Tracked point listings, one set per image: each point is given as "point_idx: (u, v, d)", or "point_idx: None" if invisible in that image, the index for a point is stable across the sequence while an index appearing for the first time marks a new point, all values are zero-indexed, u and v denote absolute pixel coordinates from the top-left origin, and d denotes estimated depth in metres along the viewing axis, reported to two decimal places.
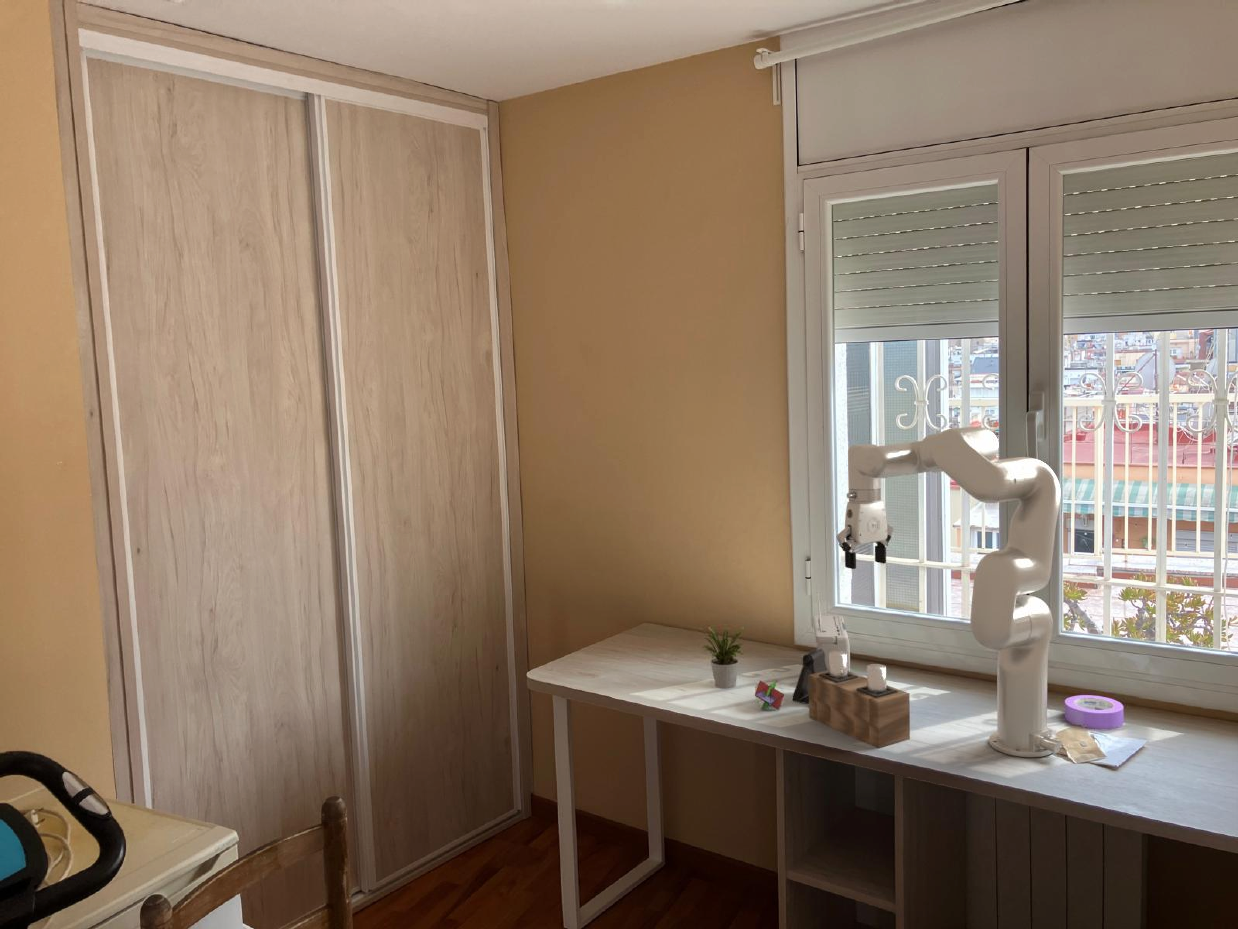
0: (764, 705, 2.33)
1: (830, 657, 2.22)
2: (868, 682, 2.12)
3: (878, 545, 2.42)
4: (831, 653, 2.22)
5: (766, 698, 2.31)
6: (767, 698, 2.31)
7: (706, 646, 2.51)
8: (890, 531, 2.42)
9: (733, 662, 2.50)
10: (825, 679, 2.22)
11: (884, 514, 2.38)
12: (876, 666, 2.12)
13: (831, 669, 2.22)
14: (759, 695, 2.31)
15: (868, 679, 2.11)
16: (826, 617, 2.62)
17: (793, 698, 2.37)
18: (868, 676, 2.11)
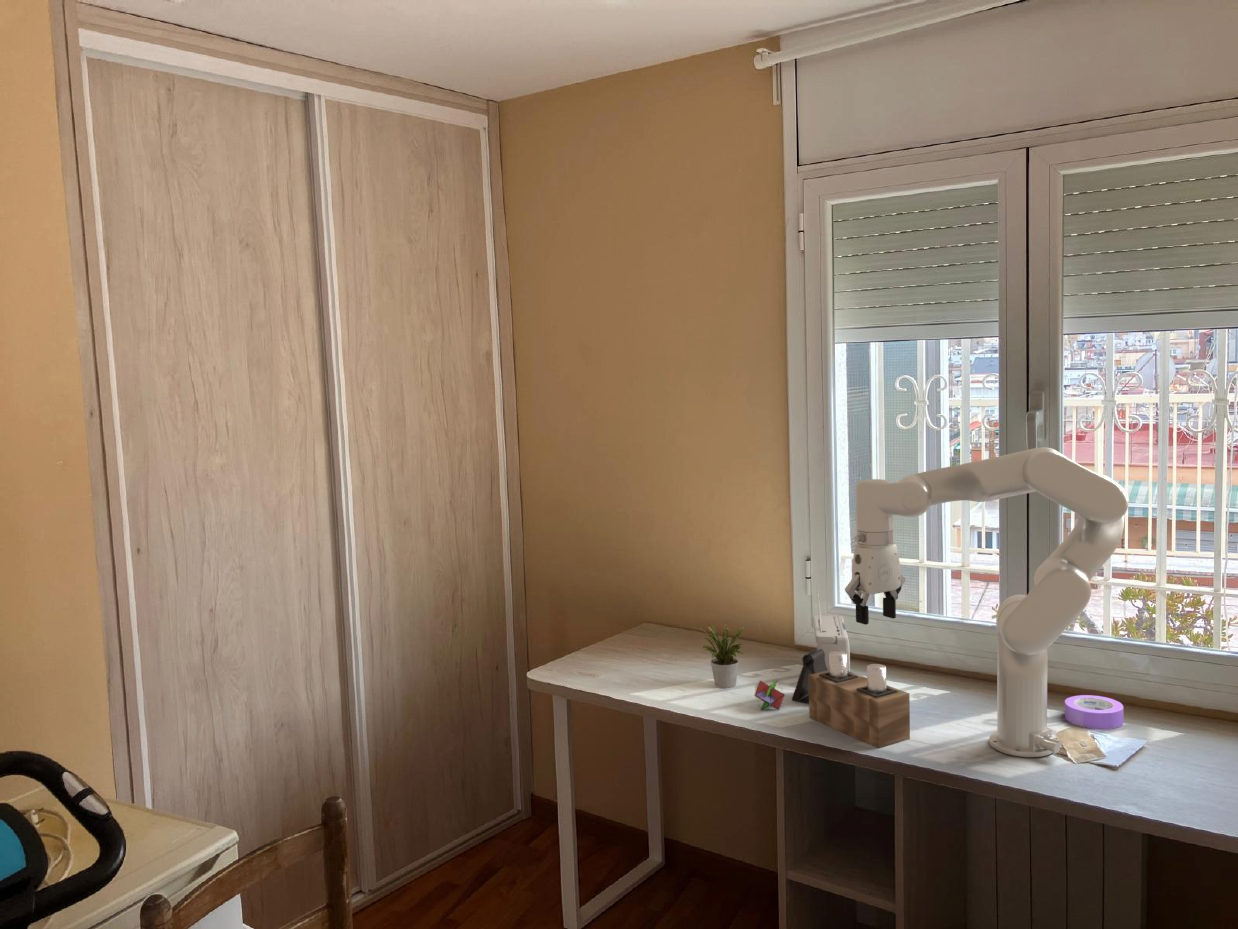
0: (764, 705, 2.33)
1: (830, 657, 2.22)
2: (868, 682, 2.12)
3: (887, 597, 2.12)
4: (831, 653, 2.22)
5: (766, 698, 2.31)
6: (767, 698, 2.31)
7: (706, 646, 2.51)
8: (901, 582, 2.13)
9: (733, 662, 2.50)
10: (825, 679, 2.22)
11: (897, 559, 2.09)
12: (876, 666, 2.12)
13: (831, 669, 2.22)
14: (759, 695, 2.31)
15: (868, 679, 2.11)
16: (826, 617, 2.62)
17: (793, 698, 2.37)
18: (868, 676, 2.11)
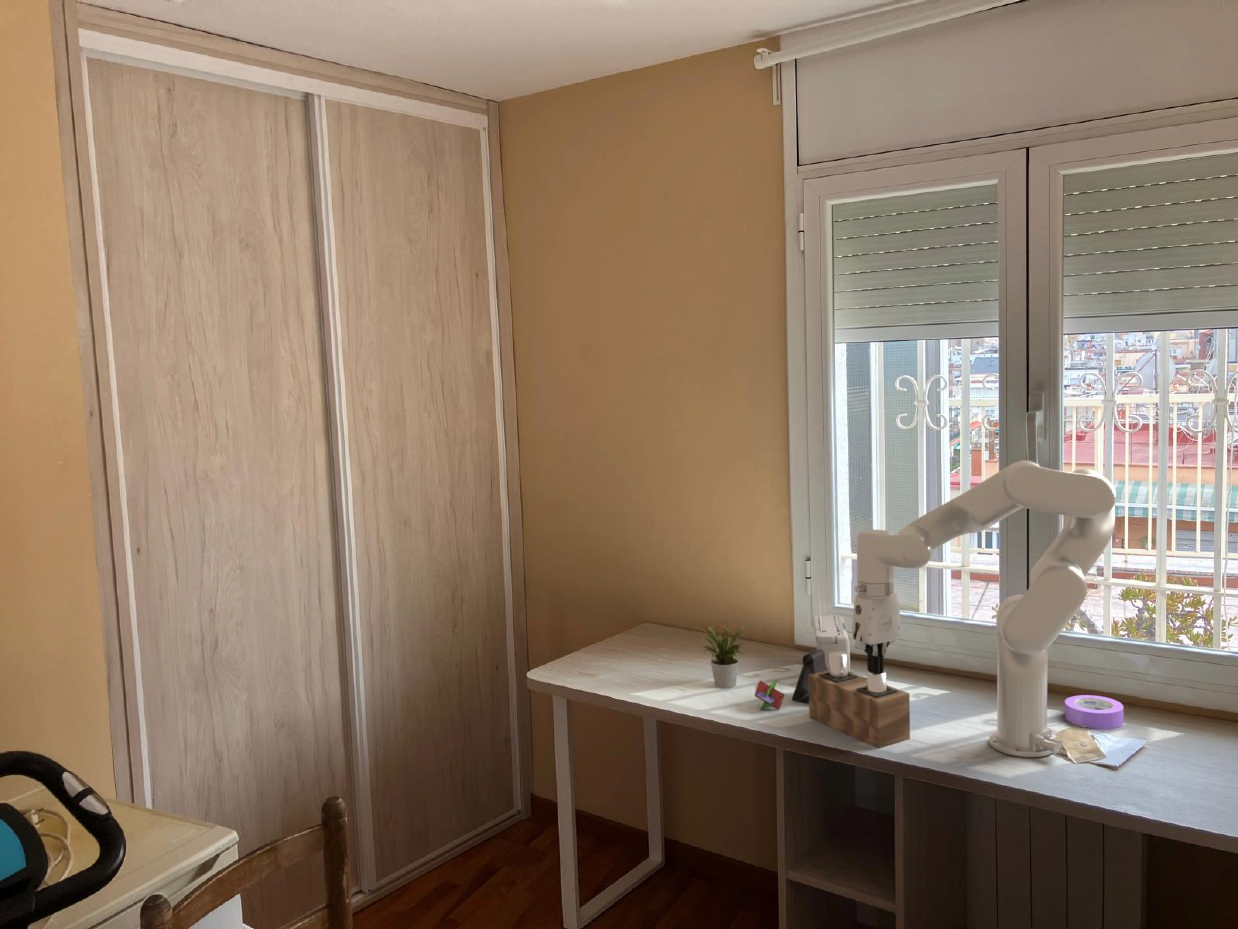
0: (764, 705, 2.33)
1: (830, 657, 2.22)
2: (868, 687, 2.12)
3: None
4: (831, 653, 2.22)
5: (766, 698, 2.31)
6: (767, 698, 2.31)
7: (706, 646, 2.51)
8: (891, 640, 2.13)
9: (733, 662, 2.50)
10: (825, 679, 2.22)
11: (897, 609, 2.10)
12: None
13: (831, 669, 2.22)
14: (759, 695, 2.31)
15: (868, 684, 2.12)
16: (826, 617, 2.62)
17: (793, 698, 2.37)
18: (868, 681, 2.11)
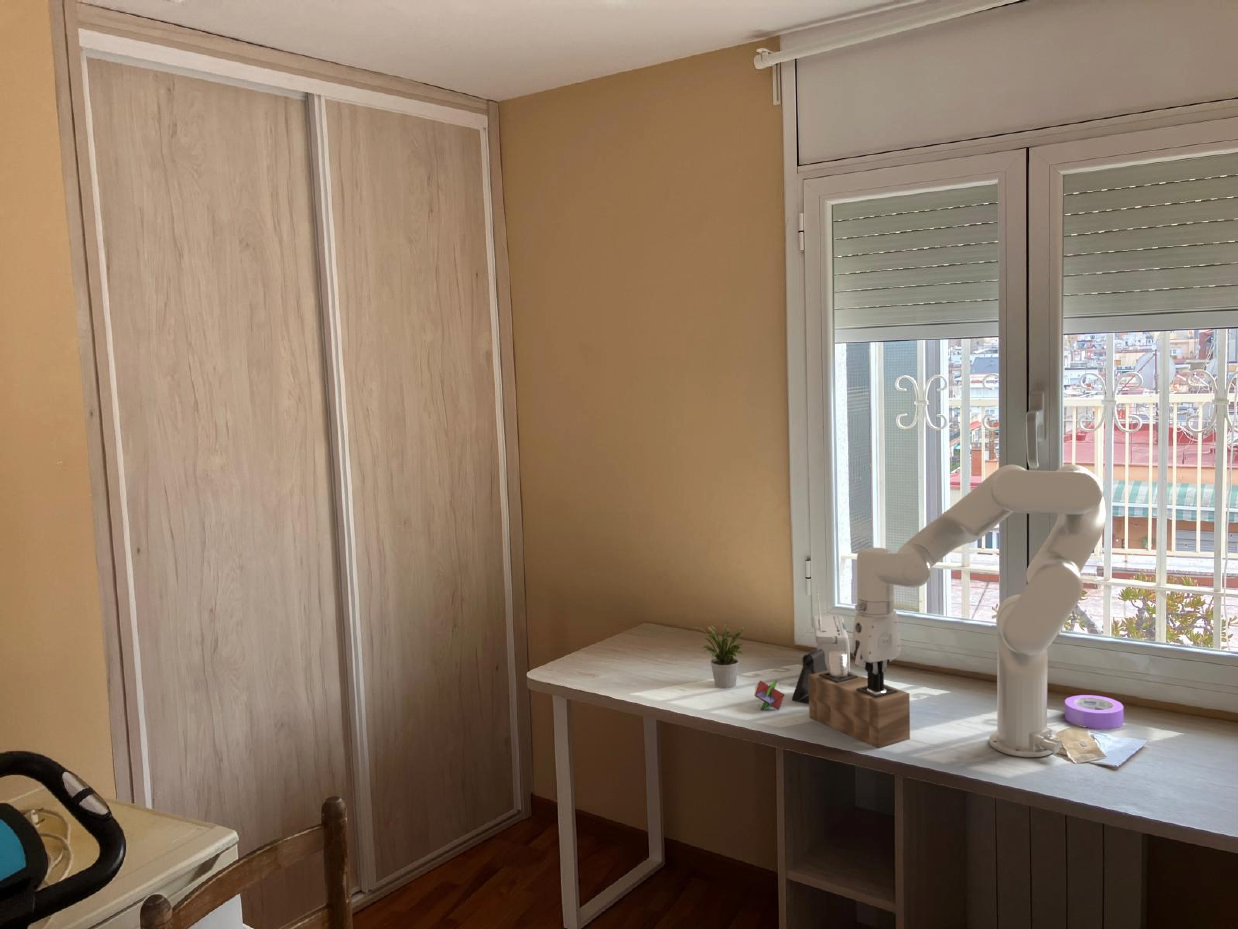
0: (764, 705, 2.33)
1: (830, 657, 2.22)
2: None
3: None
4: (831, 653, 2.22)
5: (766, 698, 2.31)
6: (767, 698, 2.31)
7: (706, 646, 2.51)
8: (891, 657, 2.13)
9: (733, 662, 2.50)
10: (825, 679, 2.22)
11: (897, 627, 2.11)
12: None
13: (831, 669, 2.22)
14: (759, 695, 2.31)
15: None
16: (826, 617, 2.62)
17: (793, 698, 2.37)
18: None
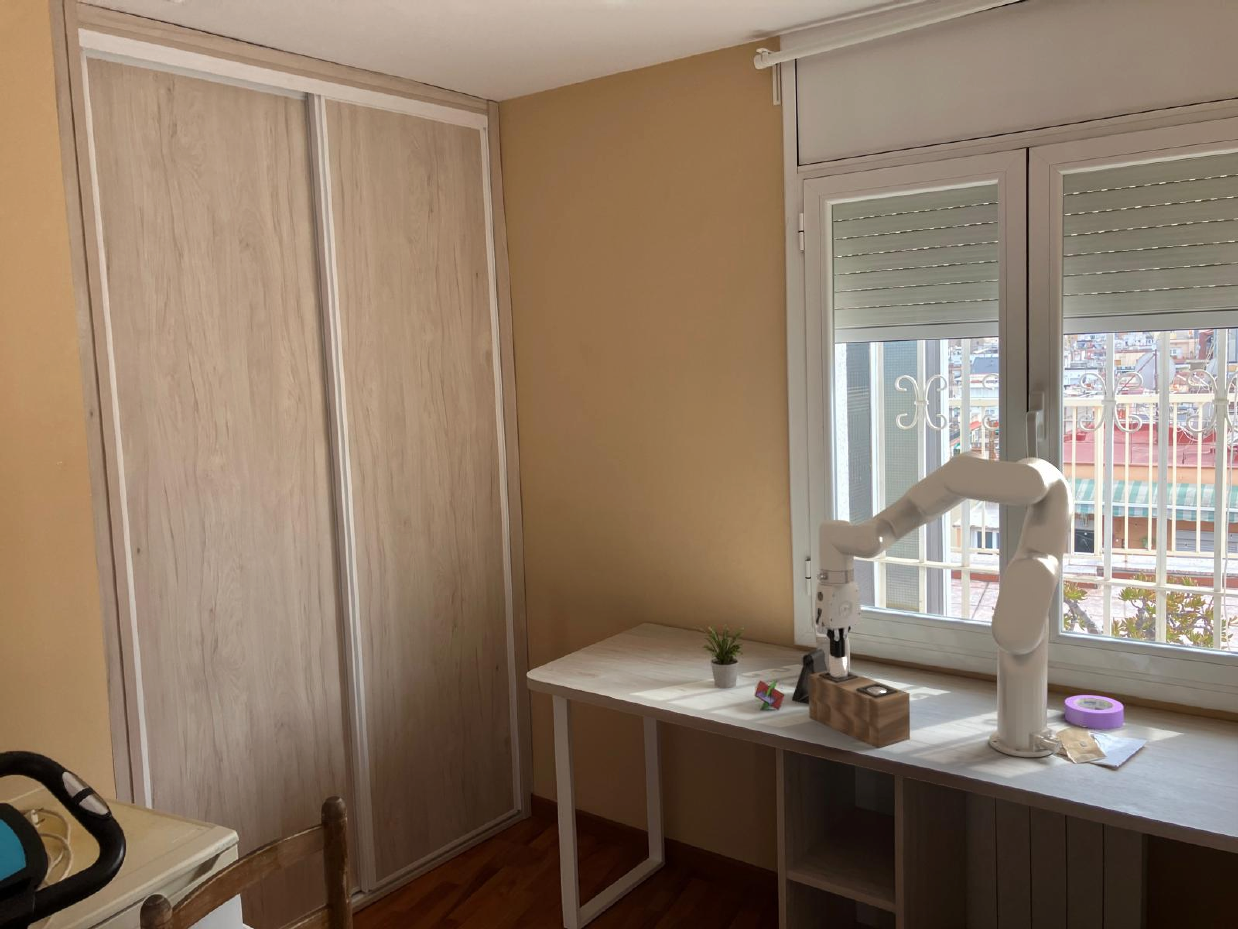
0: (764, 705, 2.33)
1: (830, 660, 2.22)
2: None
3: None
4: (831, 655, 2.22)
5: (766, 698, 2.31)
6: (767, 698, 2.31)
7: (706, 646, 2.51)
8: (852, 625, 2.23)
9: (733, 662, 2.50)
10: (825, 679, 2.22)
11: (858, 596, 2.20)
12: (876, 689, 2.13)
13: (831, 672, 2.22)
14: (759, 695, 2.31)
15: None
16: None
17: (793, 698, 2.37)
18: None
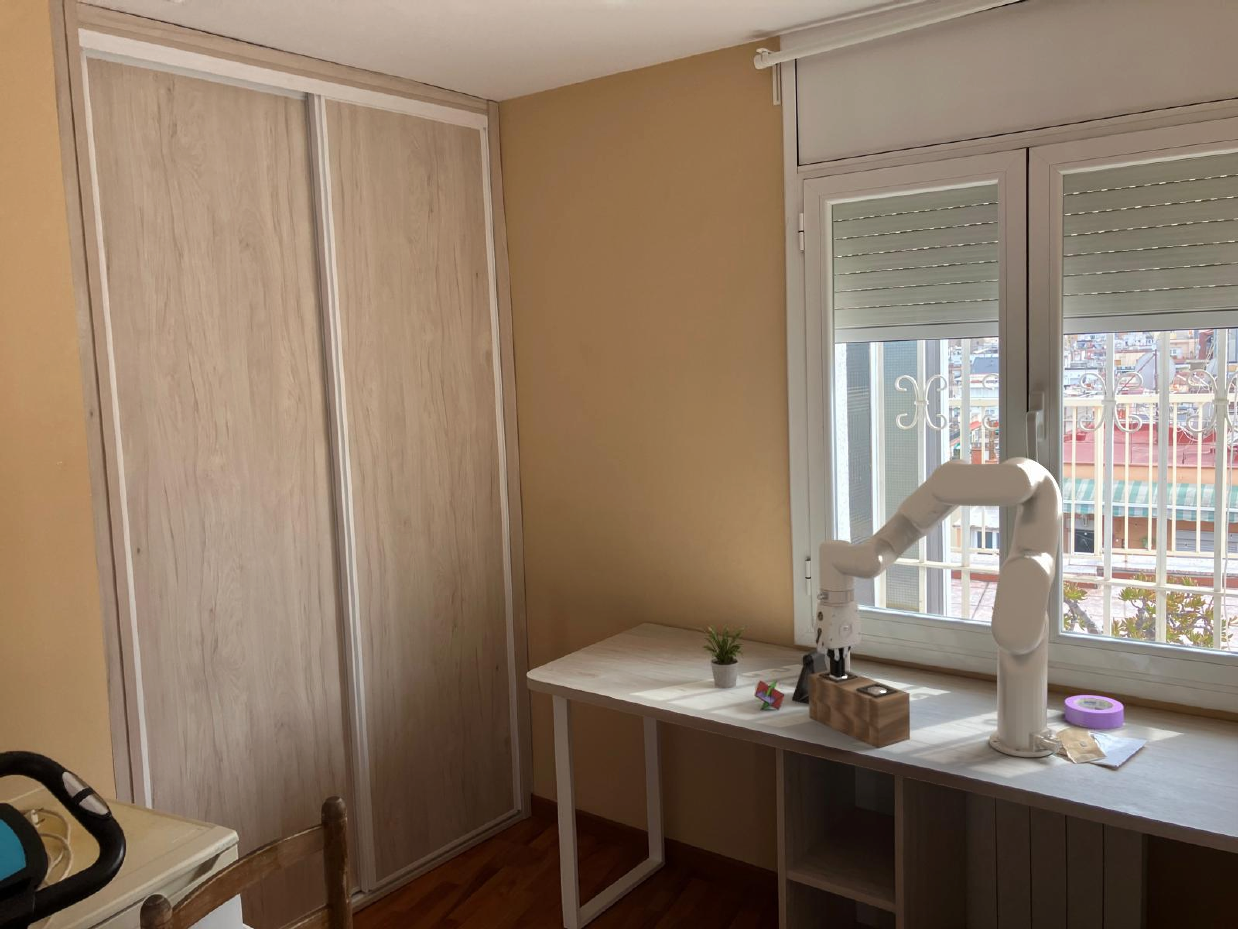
0: (764, 705, 2.33)
1: None
2: None
3: None
4: (831, 675, 2.23)
5: (766, 698, 2.31)
6: (767, 698, 2.31)
7: (706, 646, 2.51)
8: (852, 644, 2.24)
9: (733, 662, 2.50)
10: (825, 679, 2.22)
11: (858, 615, 2.21)
12: (876, 689, 2.13)
13: None
14: (759, 695, 2.31)
15: None
16: None
17: (793, 698, 2.37)
18: None
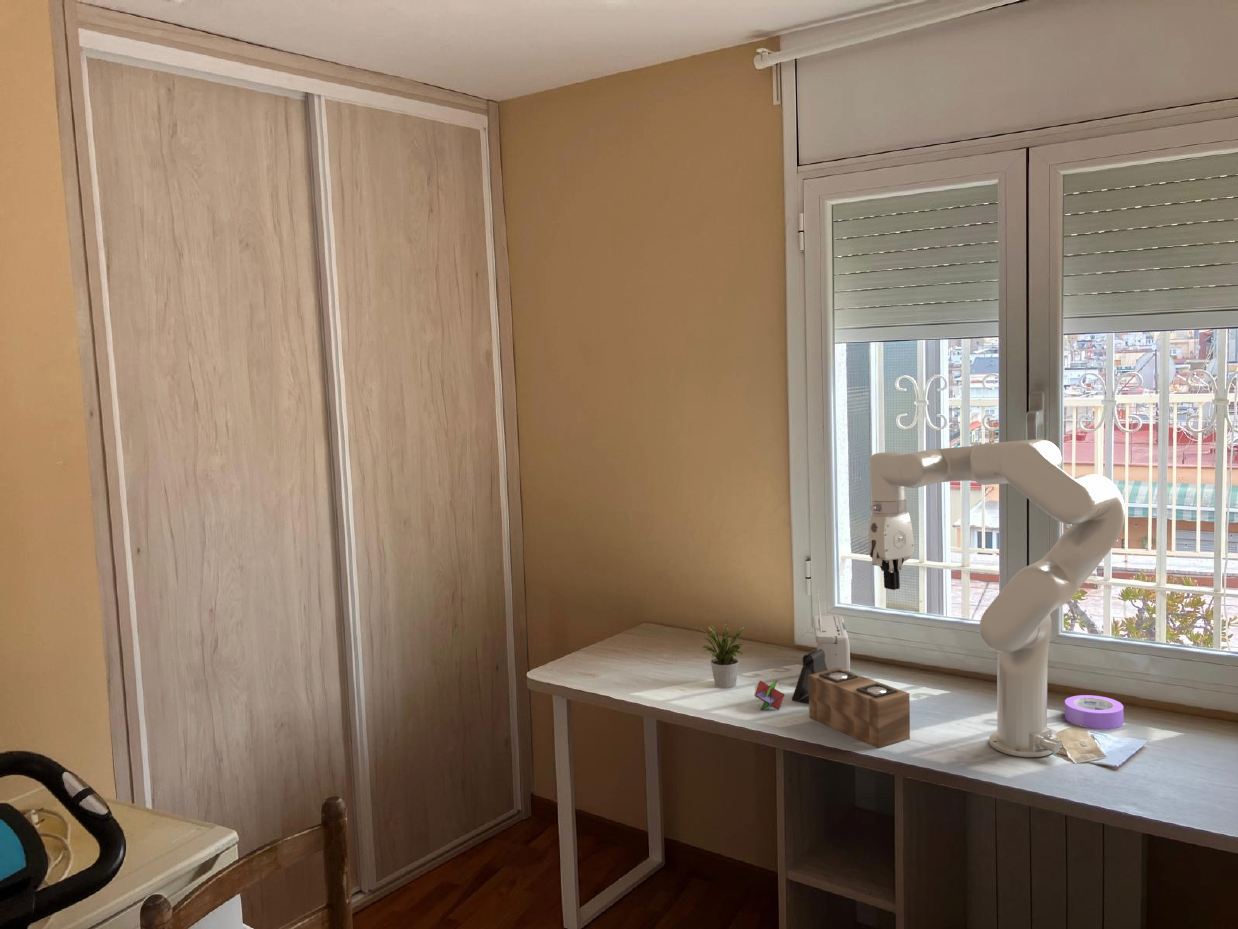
0: (764, 705, 2.33)
1: None
2: None
3: None
4: (831, 675, 2.23)
5: (766, 698, 2.31)
6: (767, 698, 2.31)
7: (706, 646, 2.51)
8: (905, 557, 2.23)
9: (733, 662, 2.50)
10: (825, 679, 2.22)
11: (911, 527, 2.21)
12: (876, 689, 2.13)
13: None
14: (759, 695, 2.31)
15: None
16: (826, 617, 2.62)
17: (793, 698, 2.37)
18: None
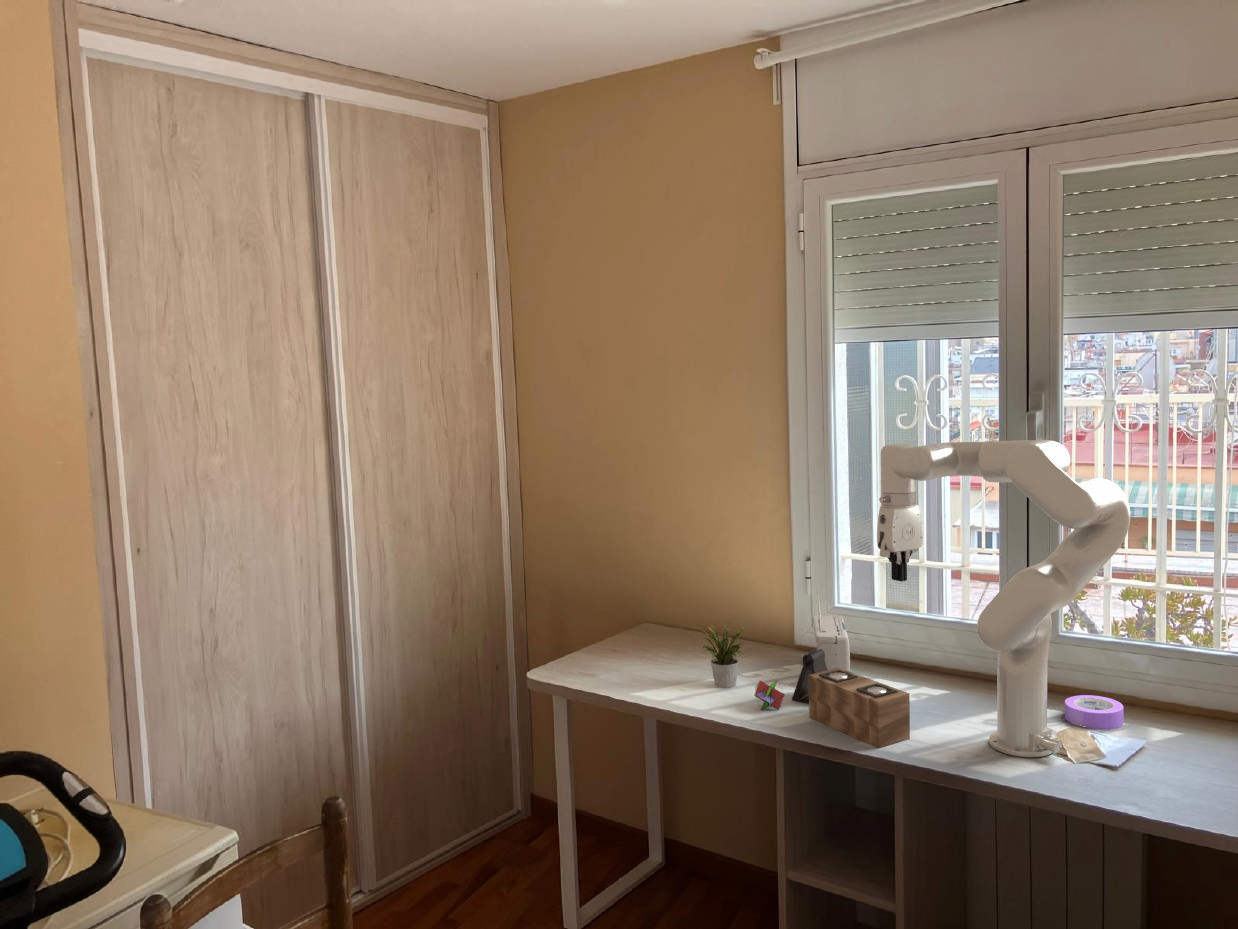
0: (764, 705, 2.33)
1: None
2: None
3: None
4: (831, 675, 2.23)
5: (766, 698, 2.31)
6: (767, 697, 2.31)
7: (706, 646, 2.51)
8: (914, 549, 2.24)
9: (733, 662, 2.50)
10: (825, 679, 2.22)
11: (920, 519, 2.21)
12: (876, 689, 2.13)
13: None
14: (759, 695, 2.31)
15: None
16: (826, 617, 2.62)
17: (793, 698, 2.37)
18: None
